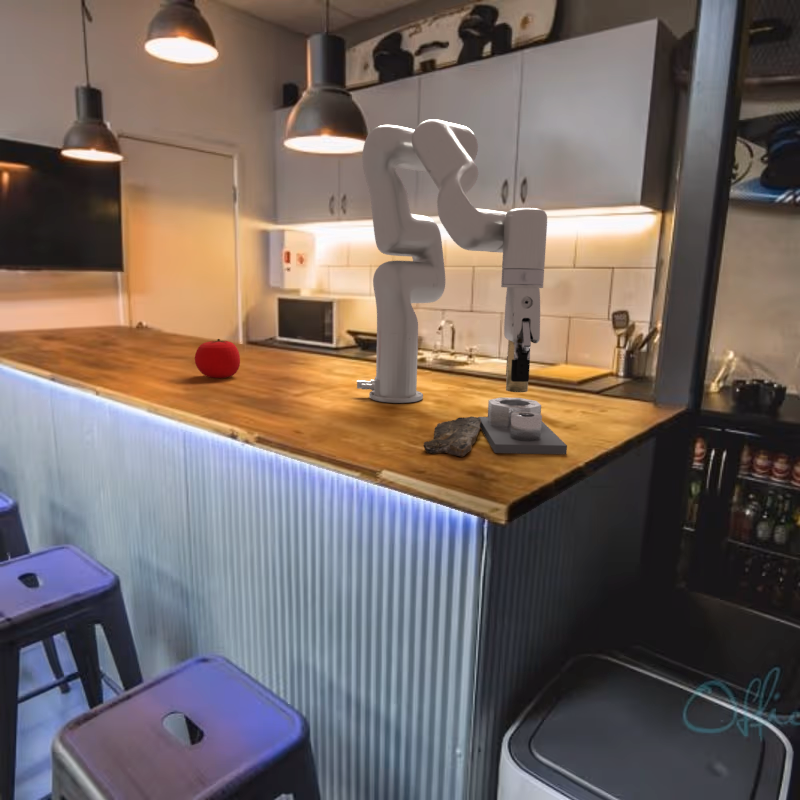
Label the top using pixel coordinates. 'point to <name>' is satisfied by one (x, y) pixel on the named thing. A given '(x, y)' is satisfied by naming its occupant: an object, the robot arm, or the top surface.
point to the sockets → (516, 417)
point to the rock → (454, 436)
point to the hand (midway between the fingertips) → (517, 378)
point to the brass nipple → (510, 384)
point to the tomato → (217, 359)
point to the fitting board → (506, 444)
